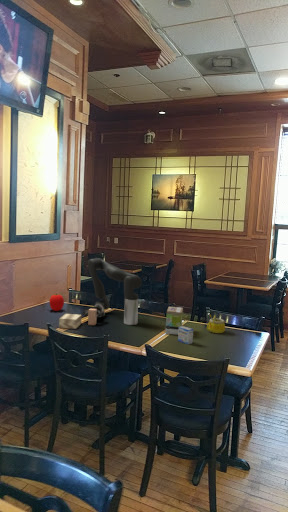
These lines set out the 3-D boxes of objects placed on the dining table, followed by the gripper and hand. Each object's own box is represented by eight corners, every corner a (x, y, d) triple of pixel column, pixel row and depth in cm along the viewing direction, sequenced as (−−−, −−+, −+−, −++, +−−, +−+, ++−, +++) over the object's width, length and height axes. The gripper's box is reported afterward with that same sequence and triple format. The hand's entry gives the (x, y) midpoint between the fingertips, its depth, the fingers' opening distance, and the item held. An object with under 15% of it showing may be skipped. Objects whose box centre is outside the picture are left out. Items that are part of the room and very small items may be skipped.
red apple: (64, 312, 277) (65, 295, 276) (50, 312, 273) (50, 295, 272) (62, 308, 287) (62, 292, 286) (48, 309, 283) (48, 292, 282)
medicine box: (177, 341, 218) (178, 326, 217) (182, 339, 221) (183, 325, 220) (188, 344, 212) (188, 330, 212) (192, 343, 215) (193, 328, 215)
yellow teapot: (218, 328, 248) (219, 311, 247) (227, 333, 238) (229, 315, 237) (202, 330, 243) (203, 312, 242) (210, 335, 233) (212, 316, 232)
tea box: (180, 335, 230) (182, 312, 229) (164, 333, 232) (166, 310, 230) (182, 328, 245) (183, 307, 244) (167, 327, 246) (168, 305, 245)
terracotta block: (96, 323, 249) (96, 308, 248) (94, 325, 245) (95, 310, 244) (89, 322, 250) (90, 308, 249) (88, 324, 245) (88, 310, 244)
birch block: (81, 323, 247) (81, 314, 247) (75, 328, 234) (76, 319, 234) (65, 322, 248) (65, 313, 248) (59, 327, 235) (59, 318, 235)
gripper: (87, 304, 262) (81, 309, 246) (107, 305, 260) (102, 310, 244) (87, 314, 262) (81, 320, 246) (107, 316, 261) (102, 321, 245)
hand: (92, 315), depth 245 cm, fingers open, 8 cm apart
